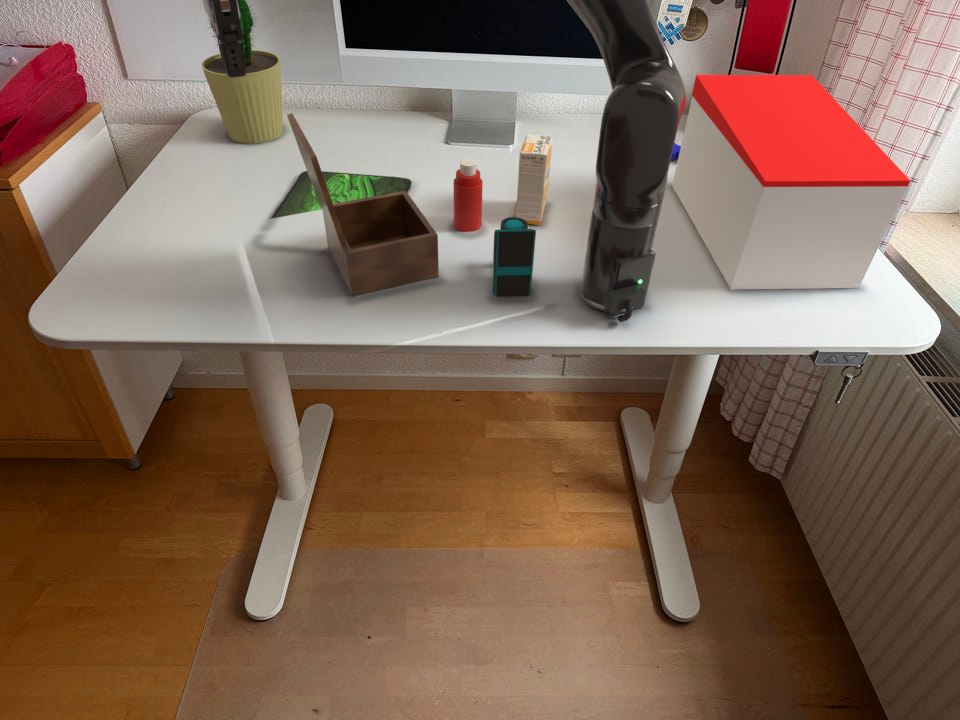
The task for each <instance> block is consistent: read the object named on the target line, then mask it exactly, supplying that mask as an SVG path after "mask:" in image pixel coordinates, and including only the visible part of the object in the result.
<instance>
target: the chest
mask: <svg viewBox="0 0 960 720" xmlns="http://www.w3.org/2000/svg"><path fill="white" fill-rule="evenodd" d="M333 206H334V209H335V212H336V215H337V217H338V220H339V223H340V226H341V229H342V232H343V235H344V238H345V241H346V244H347V246H348V250H346V251H343V250H342V248H341V246H340V244H339V242H338V240H337V238H336V236H335V234H334V232H333V230H332V228H331V226H330V224H329V222H328V221H327V219H326V217H325V215H324V213H323V212H322V215H323V223H324V229H325V235H326V242H327V249H328V250H329V252H330V254H331V256H332V258H333V260H334V262H335V264H336V267H337V269H338V271H339V273H340V275H341V277H342V279H343V281H344V283H345V286H346V287H347V289H348V291H349V294H350V295H351V297H352V298H353V297H358V296H362V295H366V294H369V293H375V292H379V291H384V290H388V289H393V288H397V287H403V286H406V285H411V284H415V283H419V282H424V281H429V280H432V279H437V278H439V277H440V275H439V274H440V273H439V272H440V271H439V270H440V268H439V241H438V240H439V236H438V233H437V231H436V230H435V229H434V228H433V226H432V224H430V222H429V221H428V219H427V218H426V216H425V215H424V214H423V212H422V211H421V209H420V208H419V207H418V205H417V204H416V203H415V201H414V200H413V198H411V195H410V194H409V193H407V192H406V191H401V192H396V193H390V194H385V195H379V196H374V197H368V198H362V199H357V200H351V201H346V202H340V203H335V204H333Z"/></svg>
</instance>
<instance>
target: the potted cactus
mask: <svg viewBox="0 0 960 720" xmlns="http://www.w3.org/2000/svg"><path fill="white" fill-rule="evenodd" d="M237 1H238V6H239V10H240V15H241V17H240V19H239V20H240V26H241V33H242V34H243V38H242V39H243V41H241V43H240V44H241V48H242V53H243V58H244V63H245V68H246V75H245V76H241V77H229V76H228V75H227V72H226V68H225V67H224V65H223V63H222V59H221V54H220V50H218V51H217V54H214V55H211V56H208V57H206V59H204V60H203V61H202V63H201V69H202V70H203V74H204V76H205V79H206V82H207V84H208V87H209V89H210V91H211V94H212V97H213V99H214V101H215V105H216V107H217V109H218V112H219V114H220V117H221V119H222V122H223V125H224V127H225V130H226V132H227V135H228V136H229V138H230V139H231V140H232V141H234V142H235V143H240V144H248V145H251V144H252V145H253V144H261V143H262V144H263V143H267V142H271V141H273V140H276V139H278V138H279V137H281V135H283V130H284V126H283V124H284V123H283V96H282V95H283V94H282V93H283V92H282V67H281V62H282V59H281V57H280V56H279V55H278V54H276V53H274V52H270V51H266V50H259V49H254V48H255V45H253V42H254V37H255V35H257V33H255V32H254V29H253V27H254V28H255V29H256V28H257V26H256V25H255V23H257V21H258V20H257V17H254V16H255V15H256V16H257V14H256V13H254V11H253V12H252V9H250V8H251V7H252V5H248V4H250V1H247V0H237ZM203 10H205V8H204V7H203ZM252 15H253V16H252ZM209 23H210V27H208V29H211V28H212V26H213V24H212V23H211V20H209ZM212 32H214V30H213V29H212ZM253 33H254V34H253ZM216 34H217V33H216ZM216 34H215V33H213V35H212V38H214V41H212V42H213V43H214V42H215V40H216V48H218V49H219V45H218V41H217V36H216Z"/></svg>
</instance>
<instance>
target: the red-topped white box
mask: <svg viewBox="0 0 960 720" xmlns="http://www.w3.org/2000/svg"><path fill="white" fill-rule="evenodd" d="M680 146H681V149H680V153H679V157H678V159H677V162H676V167H675V171H674V175H673V180H672V183H671V187H672V188H673V191H674V192H675V194H676V196H677V197H678V199H679V201H680V202H681V204H682V206H683V208H684V209H685V211H686V213H687V215H688V216H689V219H690V220H691V222H692V224H693V226H694V228H695V229H696V231H697V233H698V234H699V236H700V238H701V239H702V242H703V243H704V245H705V247H706V248H707V250H708V252H709V254H710V256H711V257H712V259H713V260H714V261H713V262H714V263H715V264H716V266H717V268H718V270H719V271H720V273H721V275H722V277H723V278H724V280H725V282H726V284H727V286H728V288H729V290H730V291H731V290H732V291H734V290H735V291H737V290H738V291H740V290H804V289H805V290H807V289H808V290H809V289H817V290H818V289H859V288H860V286H861V284H862V283H863V280H864V278H865V276H866V274H867V272H868V270H869V267H870V266H871V264H872V262H873V259H874V258H875V256H876V253H877V251H878V249H879V247H880V245H881V243H882V240H883V239H884V236H885V235H886V232H887V230H888V228H889V226H890V224H891V222H892V220H893V218H894V216H895V214H896V212H897V210H898V207H899V206H900V204H901V202H902V199H903V197H904V196H905V194H906V191H907V189H908V187H909V185H910V183H911V179H910V178H909V177H908V176H907V175H906V174H905V173H904V172H903V171H902V170H901V169H900V168H899V167H898V165H896V163H895V162H894V161H893V159H891V158H890V157H889V156H888V155H887V153H885V151H884V150H883V149H882V148H881V147H880V146H879V145H878V144H877V143H876V142H875V140H873V139H872V138H871V136H869V134H868V133H867V132H866V131H865V130H864V129H863V128H862V127H861V126H860V125H859V123H857V121H855V119H854V118H853V117H852V116H851V115H850V114H849V113H848V111H846V110H845V109H844V108H843V106H841V104H840V103H839V102H838V101H837V100H836V99H835V98H834V97H833V96H832V95H831V94H830V93H829V91H827V89H826V88H825V87H824V86H823V85H822V84H821V83H820V82H819V81H818V80H817V79H816V78H815V76H813V75H812V74H696V75H695V78H694V83H693V88H692V92H691V101H690V105H689V111H688V115H687V118H686V122H685V128H684V132H683V137H682V140H681V145H680Z"/></svg>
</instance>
